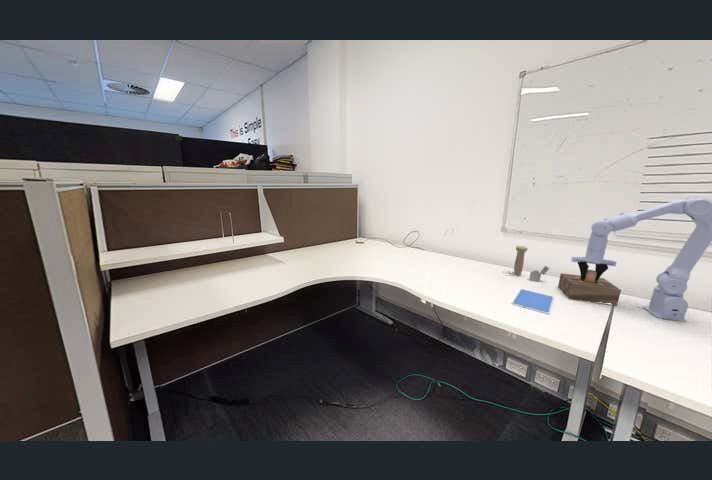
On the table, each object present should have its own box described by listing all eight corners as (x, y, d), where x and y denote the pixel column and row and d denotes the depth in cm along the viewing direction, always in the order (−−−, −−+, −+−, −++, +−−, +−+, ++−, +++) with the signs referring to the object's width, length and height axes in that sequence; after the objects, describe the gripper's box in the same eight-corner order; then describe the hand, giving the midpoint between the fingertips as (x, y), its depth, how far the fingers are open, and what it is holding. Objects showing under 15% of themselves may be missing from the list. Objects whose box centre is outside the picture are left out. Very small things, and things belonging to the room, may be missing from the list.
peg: (595, 286, 112) (599, 273, 111) (584, 284, 113) (587, 271, 112) (591, 283, 116) (594, 270, 114) (580, 281, 117) (583, 268, 116)
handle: (520, 273, 142) (525, 246, 139) (523, 277, 136) (528, 249, 133) (510, 272, 144) (515, 245, 140) (513, 276, 138) (517, 248, 134)
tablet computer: (548, 316, 98) (549, 313, 98) (510, 305, 106) (511, 302, 106) (553, 299, 112) (554, 296, 112) (520, 291, 120) (520, 288, 120)
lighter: (530, 280, 132) (533, 265, 130) (529, 279, 134) (531, 264, 132) (546, 282, 130) (549, 267, 128) (545, 281, 132) (548, 266, 130)
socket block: (616, 305, 107) (621, 290, 105) (569, 298, 112) (572, 283, 111) (600, 292, 119) (603, 278, 118) (557, 286, 125) (560, 273, 123)
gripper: (578, 249, 110) (572, 280, 113) (623, 253, 105) (615, 285, 108) (572, 245, 116) (566, 274, 119) (614, 249, 111) (606, 279, 114)
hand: (588, 279), depth 114 cm, fingers closed on peg, 4 cm apart
